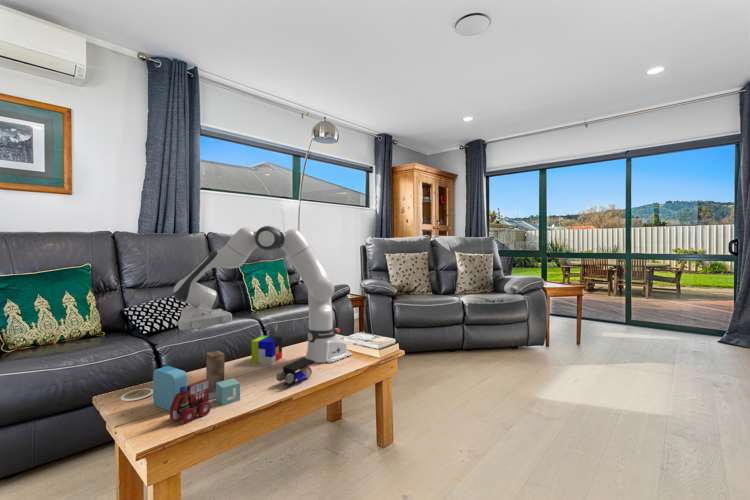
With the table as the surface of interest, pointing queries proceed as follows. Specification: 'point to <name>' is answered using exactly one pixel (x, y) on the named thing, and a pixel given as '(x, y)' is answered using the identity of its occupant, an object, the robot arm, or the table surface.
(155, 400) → the data package
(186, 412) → the toy fire truck
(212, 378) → the walnut block
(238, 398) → the letter cube
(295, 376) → the toy car
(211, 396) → the mat
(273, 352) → the puzzle toy
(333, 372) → the table surface
